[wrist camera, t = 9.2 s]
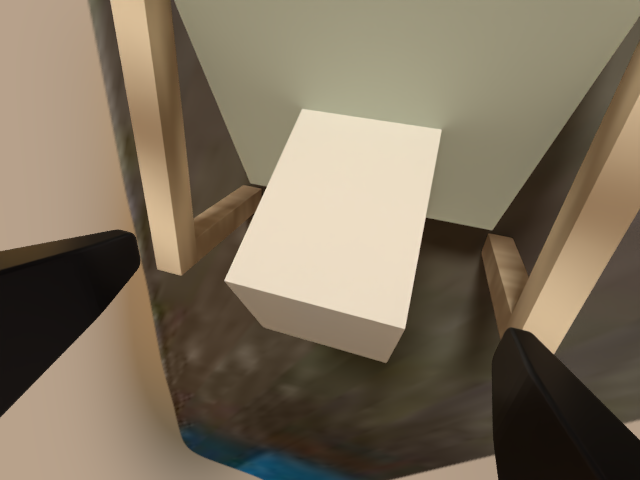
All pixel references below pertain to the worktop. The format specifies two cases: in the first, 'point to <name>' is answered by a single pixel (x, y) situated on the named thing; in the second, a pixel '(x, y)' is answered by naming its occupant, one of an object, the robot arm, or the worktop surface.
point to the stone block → (339, 233)
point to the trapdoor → (411, 79)
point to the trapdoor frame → (498, 251)
